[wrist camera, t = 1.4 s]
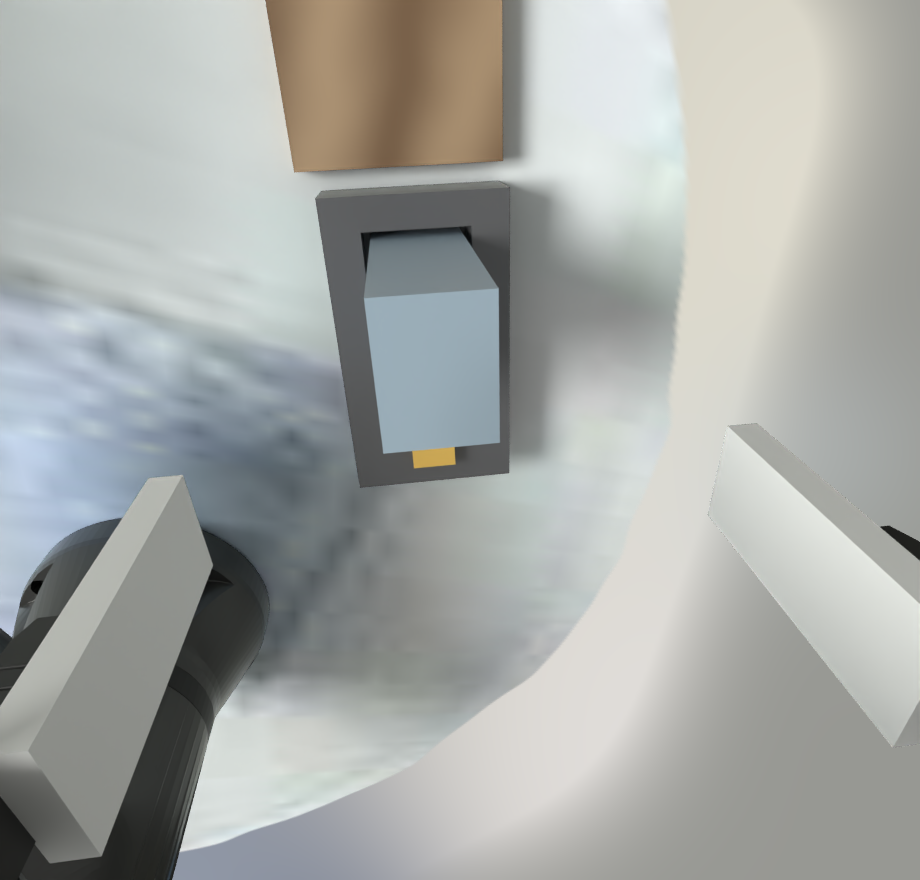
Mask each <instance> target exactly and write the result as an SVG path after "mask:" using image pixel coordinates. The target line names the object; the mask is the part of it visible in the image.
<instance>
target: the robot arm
mask: <svg viewBox="0 0 920 880" xmlns="http://www.w3.org/2000/svg"><path fill="white" fill-rule="evenodd" d="M708 516H709V517H710V518H711V519H712V521H713V522H714V523H715V524H716V526H717V527H718V528H719V530H720V531H721V532H722V533H723V535H724V536H725V537H726V538H727V540H728V541H729V542H730V543H731V545H732V546H733V547H734V548H735V550H736V551H737V552H738V553H739V555H740V556H741V557H742V558H743V560H744V561H745V562H746V563H747V565H748V566H749V567H750V569H751V570H752V571H753V572H754V573H755V575H756V576H757V577H758V578H759V580H760V581H761V582H762V584H763V585H764V586H765V587H766V589H767V590H768V591H769V592H770V594H771V595H772V596H773V598H774V599H775V600H776V601H777V603H778V604H779V605H780V606H781V608H782V609H783V610H784V611H785V613H786V614H787V615H788V616H789V618H790V619H791V620H792V621H793V623H794V624H795V625H796V626H797V628H798V629H799V630H800V632H801V633H802V634H803V635H804V637H805V638H806V639H807V640H808V642H809V643H810V644H811V645H812V647H813V648H814V649H815V650H816V652H817V653H818V654H819V655H820V657H821V658H822V659H823V660H824V661H825V663H826V664H827V666H828V667H829V668H830V669H831V671H832V672H833V673H834V674H835V675H836V677H837V678H838V679H839V681H840V682H841V683H842V684H843V686H844V687H845V688H846V689H847V691H848V692H849V693H850V694H851V696H852V697H853V698H854V699H855V701H856V702H857V703H858V705H859V706H860V707H861V708H862V710H863V711H864V712H865V713H866V715H867V716H868V717H869V718H870V719H871V721H872V722H873V723H874V725H875V726H876V727H877V728H878V730H879V731H880V732H881V733H882V735H883V736H884V737H885V739H886V740H887V741H888V742H889V743H890V745H891V746H892V747H893V748H894V747H902V746H909V745H916V744H920V542H919V541H918V540H916V539H914V538H912V537H910V536H908V535H906V534H904V533H902V532H900V531H898V530H896V529H894V528H892V527H891V526H881V527H879V526H878V525H877V524H876V523H874V522H873V521H872V520H871V519H870V518H868V517H867V516H866V515H865V514H864V513H862V512H861V511H860V510H859V509H858V508H857V507H855V506H854V505H853V504H852V503H851V502H850V501H848V500H847V499H846V498H845V497H843V496H842V495H841V494H840V493H839V492H837V491H836V490H835V489H834V488H833V487H832V486H831V485H829V484H828V483H827V482H826V481H825V480H823V479H822V478H821V477H820V476H819V475H817V474H816V473H815V472H814V471H813V470H812V469H810V468H809V467H808V466H807V465H806V464H805V463H803V462H802V461H801V460H800V459H799V458H797V457H796V456H795V455H794V454H793V453H791V452H790V451H789V450H788V449H787V448H786V447H784V446H783V445H782V444H781V443H780V442H778V441H777V440H776V439H775V438H774V437H773V436H771V435H770V434H769V433H768V432H767V431H765V430H764V429H763V428H762V427H761V426H759V425H758V424H757V423H754V424H742V425H731V426H727V429H726V434H725V439H724V443H723V448H722V452H721V457H720V461H719V466H718V470H717V475H716V479H715V484H714V488H713V493H712V498H711V503H710V507H709V511H708ZM268 616H269V599H268V594H267V591H266V588H265V585H264V583H263V581H262V579H261V577H260V575H259V574H258V572H257V571H256V569H255V568H254V567H253V566H252V564H251V563H250V562H249V561H248V560H247V559H246V558H245V557H244V556H243V555H242V554H241V553H239V552H238V551H237V550H236V549H234V548H233V547H232V546H230V545H229V544H227V543H226V542H224V541H222V540H221V539H219V538H217V537H215V536H213V535H211V534H209V533H207V532H205V531H202V530H201V528H200V525H199V522H198V519H197V516H196V513H195V510H194V507H193V504H192V501H191V498H190V495H189V492H188V489H187V486H186V483H185V480H184V477H183V475H177V476H166V477H155V478H148V480H147V481H146V483H145V484H144V486H143V487H142V489H141V490H140V492H139V494H138V495H137V497H136V498H135V500H134V501H133V503H132V504H131V506H130V507H129V509H128V510H127V512H126V513H125V515H124V517H123V518H122V519H116V520H109V521H104V522H100V523H96V524H93V525H90V526H87V527H85V528H82V529H80V530H78V531H76V532H74V533H72V534H70V535H69V536H67V537H66V538H64V539H63V540H62V541H60V542H59V543H58V544H57V545H56V546H54V548H53V549H52V550H51V551H50V552H49V553H48V555H47V556H46V557H45V559H44V560H43V561H42V562H41V564H40V565H39V566H38V568H37V569H36V570H35V572H34V573H33V574H32V576H31V577H30V579H29V581H28V583H27V585H26V587H25V589H24V591H23V594H22V597H21V601H20V606H19V610H18V614H17V618H16V623H15V627H14V631H13V636H12V637H10V636H9V635H8V634H7V633H6V632H4V631H3V630H2V629H1V628H0V880H172V878H173V874H174V870H175V867H176V863H177V859H178V855H179V851H180V848H181V844H182V840H183V836H184V832H185V828H186V825H187V821H188V817H189V813H190V809H191V805H192V802H193V798H194V794H195V790H196V786H197V783H198V779H199V775H200V771H201V767H202V763H203V760H204V756H205V752H206V748H207V743H208V740H209V736H210V733H211V729H212V726H213V722H214V719H215V717H216V715H217V714H218V712H219V711H220V709H221V708H222V707H223V705H224V704H225V702H226V701H227V699H228V698H229V697H230V695H231V694H232V692H233V691H234V689H235V688H236V686H237V685H238V683H239V682H240V680H241V679H242V677H243V676H244V674H245V672H246V671H247V669H248V668H249V667H250V666H251V664H252V663H253V661H254V660H255V658H256V656H257V654H258V652H259V650H260V648H261V645H262V642H263V639H264V634H265V630H266V626H267V621H268Z"/></svg>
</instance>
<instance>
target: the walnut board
mask: <svg viewBox="0 0 920 880" xmlns="http://www.w3.org/2000/svg"><path fill="white" fill-rule="evenodd" d="M265 1H266V7H267V13H268V19H269V25H270V31H271V37H272V42H273V48H274V54H275V60H276V66H277V72H278V78H279V84H280V90H281V96H282V102H283V108H284V114H285V120H286V126H287V132H288V138H289V144H290V150H291V156H292V162H293V167H294V172H308V171H326V170H345V169H363V168H381V167H400V166H418V165H436V164H455V163H473V162H491V161H503V82H502V0H265Z"/></svg>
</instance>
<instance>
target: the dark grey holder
mask: <svg viewBox="0 0 920 880" xmlns="http://www.w3.org/2000/svg"><path fill="white" fill-rule="evenodd" d="M315 200H316V206H317V213H318V219H319V226H320V232H321V239H322V245H323V252H324V258H325V265H326V271H327V278H328V284H329V291H330V297H331V303H332V310H333V316H334V323H335V329H336V336H337V342H338V349H339V355H340V362H341V368H342V375H343V381H344V387H345V394H346V400H347V407H348V413H349V420H350V426H351V433H352V439H353V446H354V452H355V459H356V465H357V472H358V478H359V484H360V488H362V487H373V486H383V485H393V484H403V483H413V482H424V481H434V480H444V479H454V478H464V477H474V476H485V475H495V474H505V473H509V286H510V187H508V186H507V185H505V184H503V183H502V182H500V181H485V182H468V183H451V184H433V185H416V186H398V187H381V188H363V189H346V190H329V191H321V192H320V193H319V195H318V196H317V197H316V198H315ZM452 227H459V228H460V230H461V232H462V233H463V235H464V236H465V238H466V239H467V241H468V242H469V244H470V245H471V247H472V248H473V250H474V251H475V253H476V255H477V256H478V258H479V259H480V261H481V262H482V264H483V265H484V267H485V268H486V270H487V271H488V273H489V274H490V276H491V277H492V279H493V281H494V282H495V284H496V285H497V287H498V288H499V402H500V443H492V444H481V445H471V446H460V447H449V448H439V449H428V450H417V451H407V452H396V453H385V454H383V447H382V439H381V431H380V423H379V415H378V407H377V399H376V391H375V383H374V375H373V367H372V359H371V351H370V343H369V335H368V327H367V319H366V311H365V303H364V292H365V283H366V274H367V265H368V255H369V246H370V237H371V233H373V232H389V231H405V230H420V229H436V228H452Z"/></svg>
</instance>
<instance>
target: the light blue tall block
mask: <svg viewBox="0 0 920 880" xmlns="http://www.w3.org/2000/svg"><path fill="white" fill-rule="evenodd" d="M364 303H365V311H366V319H367V327H368V335H369V343H370V351H371V359H372V367H373V375H374V383H375V391H376V399H377V407H378V415H379V423H380V431H381V439H382V447H383V454H385V453H396V452H407V451H417V450H428V449H439V448H449V447H460V446H471V445H481V444H492V443H500V402H499V288H498V287H497V285H496V284H495V282H494V281H493V279H492V277H491V276H490V274H489V273H488V271H487V270H486V268H485V267H484V265H483V264H482V262H481V261H480V259H479V258H478V256H477V255H476V253H475V251H474V250H473V248H472V247H471V245H470V244H469V242H468V241H467V239H466V238H465V236H464V235H463V233H462V232H461V230H460V228H459V227H452V228H436V229H420V230H405V231H389V232H373V233H371V237H370V246H369V255H368V265H367V274H366V283H365V292H364Z"/></svg>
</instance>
